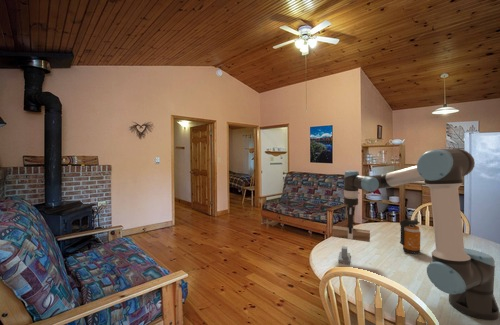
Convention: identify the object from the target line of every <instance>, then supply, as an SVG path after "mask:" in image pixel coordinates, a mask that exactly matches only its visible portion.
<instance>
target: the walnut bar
mask: <svg viewBox="0 0 500 325" xmlns="http://www.w3.org/2000/svg"><path fill="white" fill-rule="evenodd" d="M331 234H332V236H331V237H332V238H338V239H346V240H349V239H348V228H347V226H346V227H344V226H338V225H337V226H336V225H333V226H332V228H331ZM350 240H352V241H353V240H354V241H359V242H366V243H370V242H371V230H368V229H362V228H361V229H360V228H354V227H353V239H350Z"/></svg>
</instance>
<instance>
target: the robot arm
mask: <svg viewBox="0 0 500 325" xmlns="http://www.w3.org/2000/svg"><path fill="white" fill-rule="evenodd" d="M474 168H475V158H474V157H473V155H472V154H471V153H470V152H468V151H466V150H464V149H460V148H436V149H432V150H427V151H425V152H424V153H423V154H422V155H421V156H420V157H419V158H418V160H417V162H416V165H413V166H410V167H406V168H402V169H399V170H398V169H397V170H395V171H390V172H387V173H382V174H377V175H376V174H375V175H360V174H359V171H358V170H352V169H351V170H345V171H344V177H343V179H344V180H343V181H344V183H343V186H344V187H343V188H344V189H343V196H344V199H343V203H344V205H346V206H347V207H346V208H347V209H346V211H347V225H346V228H348V239H347V240H351V239H353V228H354V225H355V222H354V216H355V210H356V207H355V206H357V205H359V198H358V197H359V195H360V192H359V190H362V191H366V192H375V191H376V190H380V189H381V190H382V189H390V188H393V187H396V186H397V187H398V186H403V185H406V184H411V183H412V184H413V183H417V182H421V181H424V184H425V186H427V187H428V188H429V190H430V191H429V192H430V202H431V211H432V221H433V231H434V243H435V249H434V250H433V251H432V252H431V262H430V263H429V264H428V265H427V266H426V274H427V278H428V279H429V281H430V282H431V283H432V284H433V285H434V287H435V288H436V289H438V290H439V291H441V292H443V293H445V294H448V302H449V305H451V307H453V308H454V309H456V310H457V311H459V312H460V313H463V314H465V315H467V316H470V317H473V318H476V319H480V320H485V321H486V320H487V321H492V320H493V321H495V320H497V319H499V317H500V308H499V306H498V303H497V301H496V297H495V296H494V295H495V294H494V287H495V272H496V271H495V268H496V264H495V258H494V257H493V256H491V255H489V254H487V253H484V252H482V251H479V250H476V249H471V248H465V242H464V233H463V224H462V214H461V202H460V194H459V192H460V191H459V188H460V187H461V186H462V185H463V184H464V181H463V177H465V176H468V175H469V174H471V172H473V170H474Z"/></svg>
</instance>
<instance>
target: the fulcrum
mask: <svg viewBox="0 0 500 325" xmlns="http://www.w3.org/2000/svg"><path fill="white" fill-rule="evenodd" d="M339 262H341V264H345V263H346V265H350V263H351V252H348V246H343V245H342V246H341V251H339V253H338V260H337V263H339Z"/></svg>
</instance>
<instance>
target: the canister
mask: <svg viewBox="0 0 500 325" xmlns="http://www.w3.org/2000/svg"><path fill="white" fill-rule="evenodd" d="M399 224H400V241H399V244H400V245H402V250H403V251H404V252H406V253H409V254H420V253H421V233H422V232H421V231H420V227H419V226H418V224H420V221H418V220H417V219H404V220H401V221H400V222H399Z"/></svg>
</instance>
